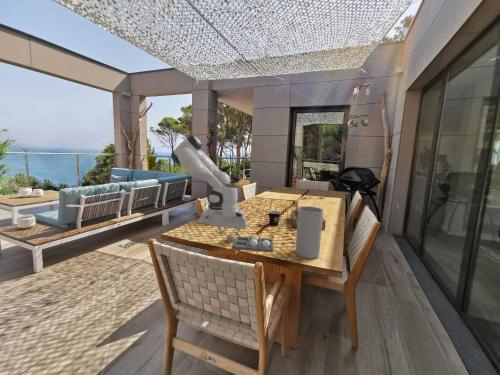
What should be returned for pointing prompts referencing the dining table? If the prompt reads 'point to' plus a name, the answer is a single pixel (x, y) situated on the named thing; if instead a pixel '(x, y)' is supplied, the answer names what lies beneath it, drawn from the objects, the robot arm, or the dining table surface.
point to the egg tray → (245, 244)
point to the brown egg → (230, 238)
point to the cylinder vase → (309, 231)
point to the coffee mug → (273, 218)
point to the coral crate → (295, 219)
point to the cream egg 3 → (266, 244)
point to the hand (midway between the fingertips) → (229, 234)
